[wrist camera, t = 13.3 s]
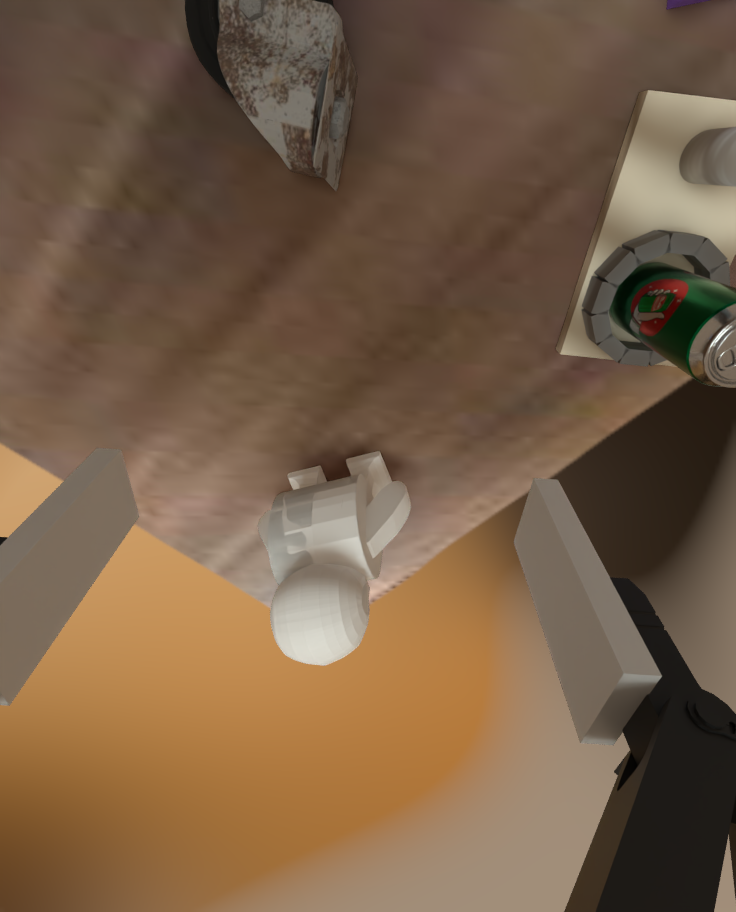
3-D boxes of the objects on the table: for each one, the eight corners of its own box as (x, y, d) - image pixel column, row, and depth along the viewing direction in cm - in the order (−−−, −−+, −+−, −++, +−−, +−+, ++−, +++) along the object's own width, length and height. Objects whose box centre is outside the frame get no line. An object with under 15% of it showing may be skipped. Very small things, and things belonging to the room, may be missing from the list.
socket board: (639, 92, 30) (693, 77, 24) (791, 111, 30) (878, 100, 25) (555, 349, 39) (582, 378, 33) (672, 361, 39) (717, 392, 34)
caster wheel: (227, -45, 29) (383, -12, 28) (207, 161, 32) (344, 194, 32) (169, -141, 22) (368, -101, 22) (153, 128, 26) (322, 168, 26)
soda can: (684, 307, 35) (807, 365, 25) (618, 341, 37) (708, 409, 27) (668, 246, 33) (795, 283, 23) (598, 285, 35) (688, 336, 24)
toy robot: (293, 526, 50) (246, 711, 33) (259, 459, 46) (184, 634, 29) (418, 498, 48) (436, 683, 31) (395, 424, 43) (400, 594, 26)
